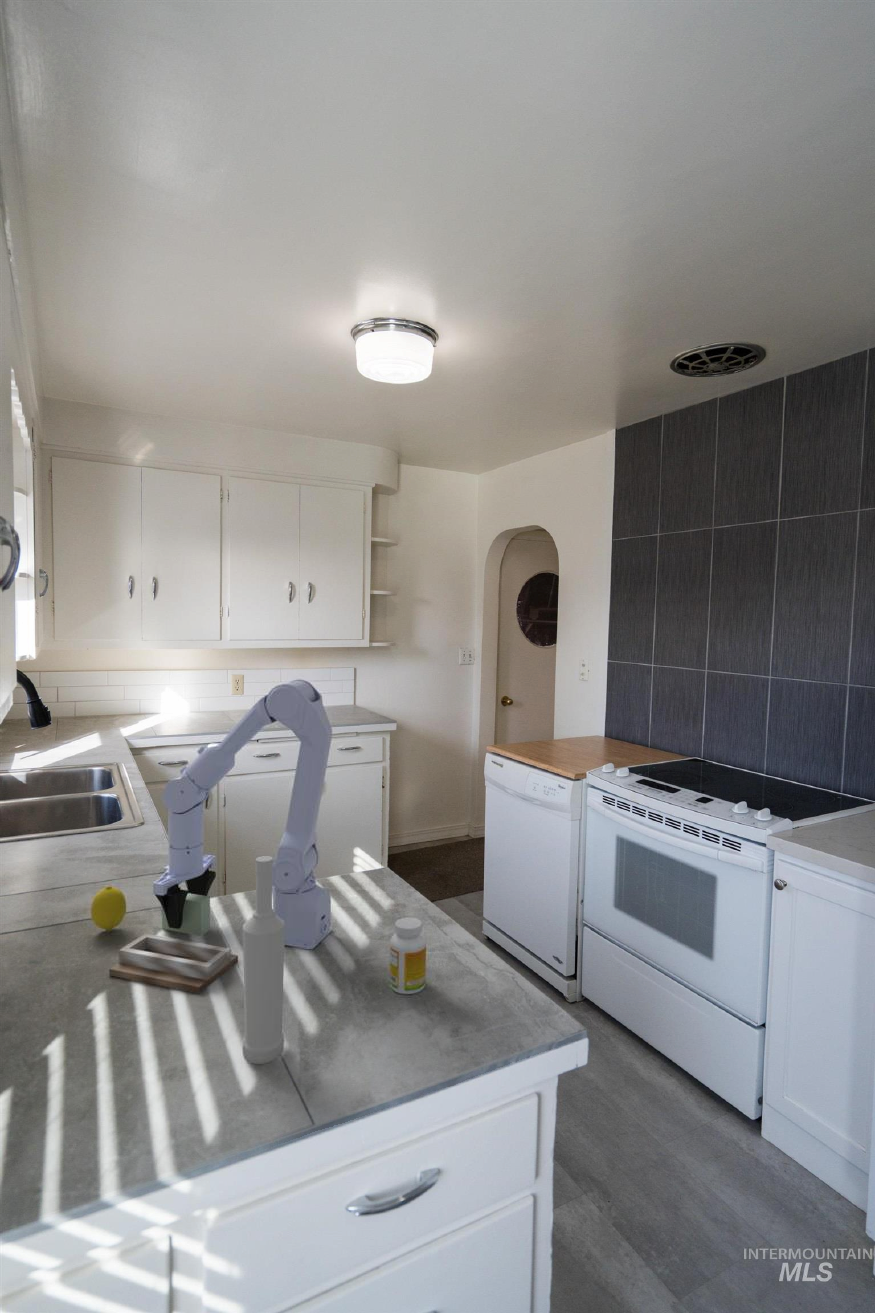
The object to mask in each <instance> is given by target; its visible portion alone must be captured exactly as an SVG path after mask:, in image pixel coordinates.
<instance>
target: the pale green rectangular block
mask: <svg viewBox="0 0 875 1313" xmlns="http://www.w3.org/2000/svg"><path fill="white" fill-rule="evenodd" d="M161 928H162V930H166V931H172V932H178V933H183V934H189V935H196V936H199V937H201V936H203V935H205V934H206V933H207V932H209V931H211V897H210V896H209V895H207V896H203V895H197V894H190V893H188V894H187V897H186V900H185V903H184V908H183V920H182V925H181V928H179V929H175V928H170V927H169V926H168V922H167V919H166V915H165V912H164V910H163V907H162V906H161Z"/></svg>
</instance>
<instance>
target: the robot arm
mask: <svg viewBox="0 0 875 1313" xmlns="http://www.w3.org/2000/svg"><path fill="white" fill-rule="evenodd" d="M276 722H278V723H280V724H282V725H283V726H285V727H287V729H290V730H291V732H292V733H293V734H294V735H295V737H296V738H297V739H298V740H299V742H300V745H299V751H298V757H297V763H296V766H295V767H296V768H295V774H294V778H293V779H294V780H293V786H292V790H291V797H290V801H289V808H288V814H287V818H286V825H285V829H284V833H283V836H282V838H281V840H280V843H279V846H278V849H277V854H276V856H275V857H274V859H273V870H272V909H273V910H275V915H277V916H278V917H279V918H281V919H282V920H283V921H284V923H285V937H284V946H289V947H295V948H300V949H305V950H306V949H307V950H313V949H314V948H315V947H317V946H318V944H319V943H321V942H322V941H323V939H325V938H326V937H327V936H328V935H329V934H330V933H331V932H332V931H333V927H332V926H331V921H332V920H331V917H332V916H331V913H332V912H331V910H332V909H331V902H332V901H331V900H332V899H331V897H332V896H331V892H330V891H329V890H328V889H327V888H324V887H322V886H320V885H319V884H317V880H316V876H315V874H314V872H313V870H314V869H316V867H317V866H318V864H319V860H320V856H319V850H318V846H317V843H318V842H317V840H318V834H317V832H316V828H317V823H318V817H319V811H320V804H321V800H322V793H323V789H324V782H325V777H326V771H327V766H328V760H329V756H330V755H329V754H330V749H331V744H332V738H333V729H332V728H333V727H332V726H331V723H330V721H329V718H328V715H327V712H326V710H325V706H324V704H323V696H322V694H321V693H320V692H319V691H318V690H317V688H316V687H315V686H314V685H313V684H312V683H311V682H309V681H308V680H304V679H299V678H298V679H294V680H291V681H289V682H287V683H280V684H277V685H275V686H273V687H272V688H271V689H270V690H269V692H268V694H265V695H264V696H262V697H261V698H260V699H259V700H257V701H256V703H255V704H254V705H252V707H250V709H249V710H248V711H247V712H246V714H244V716H243V717H242V718H241V719H240V720H239V721H238V722H237V723H236V724H235V726H234V727H233V728H232V729H231V730H230V732H228V733H227V735H226V736H225V737H224V738H223V740H222V741H221V742H215V743H214V742H211V743H208V745H203V746H201V747H200V748H199V749H198V750H197V751H196V752H197V753H198V755H197V756H196V757H195V758H194V759H193V761H192V762H191V763H189V764H188V766H184V767H182V768H181V769H180V770H179V773H180V776H179V777H176V778H173V779H170V780H169V781H167V784H166V785H165V786H164V788H163V791H162V794H161V796H162V802H163V804H164V806H165V808H166V809H168V812H167V813H168V817H167V818H168V821H167V822H168V823H167V824H168V826H167V829H168V830H167V831H168V836H167V838H168V841H167V844H168V845H167V846H168V865H166V866H164V867H163V871H164V873H163V874H162V875H161V876H160V877H159V878H158V879H157V880H155V881H154V882H153V883H152V892H153V893H152V894H153V895H154V896H155V897H156V899H157V900H158V901H159V904H160V906H161V908H162V907H163V910H164V912H165V915H166V919H167V922H168V926H169V927H170V928H175V929H179V928H181V925H182V920H183V908H184V903H185V900H186V897H187V894H188V893H190V894H197V895H203V896H209V895H208V894H209V892H210V889H211V887H212V885H213V882H214V880H215V879H216V876H217V875H216V874H217V873H216V871H213V870H209V869H211V868H212V869H213V868H214V867H216V866H217V865H216V860H217V859H216V855H209V854H205V855H204V803H205V801H206V800H207V799H208V797H209V795H210V792H211V791H212V790H213V789H214V788H215V787H216V786H217V785H218V784H219V783H220V782H221V780H222V779H223V778H224V777H226V776H227V774H228V773H229V772H230V771H231V770H232V769H233V768H234V767H235V764H236V754H237V753H239V752H240V751H241V750H242V748H244V747H245V746H246V744H248V743H249V742H250V741H251V740H252V739H253V738H254V737H255V736H257V734H258V733H259V732H260V731H261V730H262V729H264V727H266V726H267V725H272V724H274V723H276ZM182 883H185V884H186V887H187V889H183V888H182V889H181V887H180V886H179V885H180V884H182Z"/></svg>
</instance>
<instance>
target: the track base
mask: <svg viewBox="0 0 875 1313" xmlns="http://www.w3.org/2000/svg"><path fill="white" fill-rule="evenodd" d="M238 962H239V955H237V954H232V948H228V947H223V946H216V945H212V944H207V943H201V942H200V943H199V942H196V941H195V942H194V941H189V940H183V939H179V938H173V937H167V936H162V935H157V934H156V935H155V934H150V933H143V935H140V937H138V938H136V939H134V940H133V941H131V942H130V943H128V944H127V945H124V946H123V947H122V948H120V949H119V950H118V963H116V964H115V965H113V966H112V967H110V968H109V971H108V972H109V973H108V974H109V976H112V977H118V978H121V979H127V980H131V981H135V982H141V983H146V984H151V985H155V986H161V987H165V988H170V989H176V990H181V991H185V992H191V993H194V994H201V993H202V992H203V991H205V989H207V987H209V986H211V984H212V983H214V982H215V981H217V979H219V978H220V977H221V976H222V975H224V973H225V974H226V972H227V971H228V970H230V969H231V968H232V967H233V966H234V965H236V964H237V963H238Z"/></svg>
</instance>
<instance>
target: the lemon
mask: <svg viewBox="0 0 875 1313" xmlns="http://www.w3.org/2000/svg"><path fill="white" fill-rule="evenodd" d="M126 912H127V902H126V896H125V894H124V893H123V892H122V890H120V888H117V887H115V886H112V885H106V886H105V887H104V888H102V889H100V890H99V891H98V892H97V893H96V894H95V895H94V897H93V900H92V902H91V908H90V916H91V921H92V922H93V924H94V925H95V926H97V928H99V929H101V930H105V931H106V932H110V931H112V930H113V929H114V928H116V927H117V926H119V925H120V924H121V923H122V921H123V920H124V918H125V916H126Z"/></svg>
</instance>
